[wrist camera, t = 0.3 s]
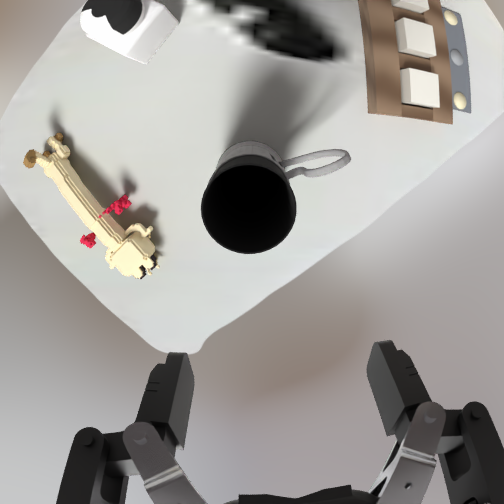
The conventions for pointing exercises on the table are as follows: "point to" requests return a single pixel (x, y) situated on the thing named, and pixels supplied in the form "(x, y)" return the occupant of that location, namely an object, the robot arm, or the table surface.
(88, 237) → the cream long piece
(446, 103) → the button board
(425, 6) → the button
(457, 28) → the pattern card
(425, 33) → the button mid
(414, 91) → the button
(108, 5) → the medicine bottle
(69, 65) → the table surface
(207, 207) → the grey mug
